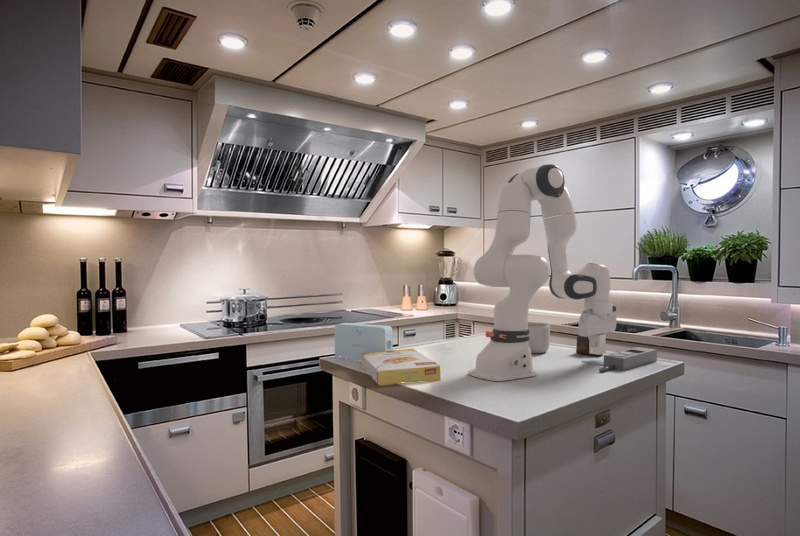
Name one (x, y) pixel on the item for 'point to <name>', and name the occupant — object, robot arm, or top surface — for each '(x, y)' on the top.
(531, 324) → the planter
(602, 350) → the block
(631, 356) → the power strip
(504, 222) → the robot arm
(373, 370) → the cereal box
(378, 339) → the light blue box
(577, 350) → the electronic device
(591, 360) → the mat
